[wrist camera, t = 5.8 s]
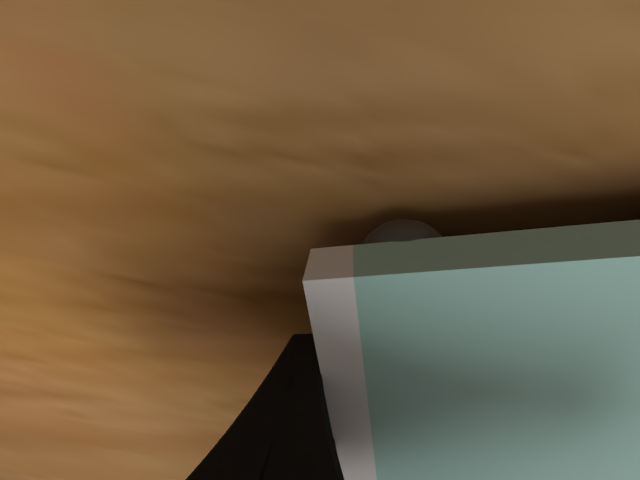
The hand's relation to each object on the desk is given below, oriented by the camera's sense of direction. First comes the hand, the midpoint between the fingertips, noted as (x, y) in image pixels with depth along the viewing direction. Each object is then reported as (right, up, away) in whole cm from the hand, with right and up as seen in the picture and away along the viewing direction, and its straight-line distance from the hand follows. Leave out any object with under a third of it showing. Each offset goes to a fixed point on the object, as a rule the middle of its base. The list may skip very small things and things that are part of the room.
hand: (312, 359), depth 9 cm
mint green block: (+6, +1, 0) cm, 7 cm away
